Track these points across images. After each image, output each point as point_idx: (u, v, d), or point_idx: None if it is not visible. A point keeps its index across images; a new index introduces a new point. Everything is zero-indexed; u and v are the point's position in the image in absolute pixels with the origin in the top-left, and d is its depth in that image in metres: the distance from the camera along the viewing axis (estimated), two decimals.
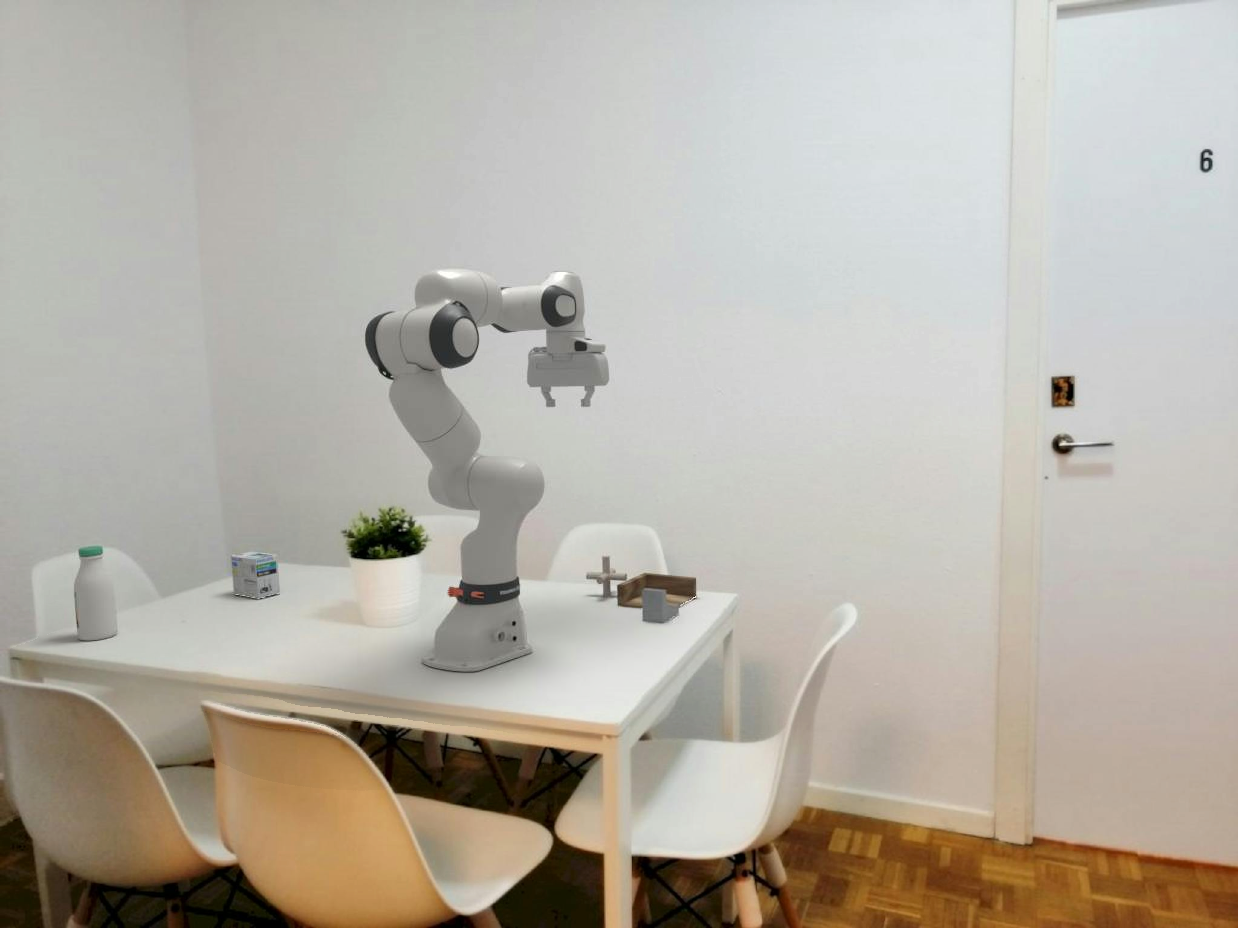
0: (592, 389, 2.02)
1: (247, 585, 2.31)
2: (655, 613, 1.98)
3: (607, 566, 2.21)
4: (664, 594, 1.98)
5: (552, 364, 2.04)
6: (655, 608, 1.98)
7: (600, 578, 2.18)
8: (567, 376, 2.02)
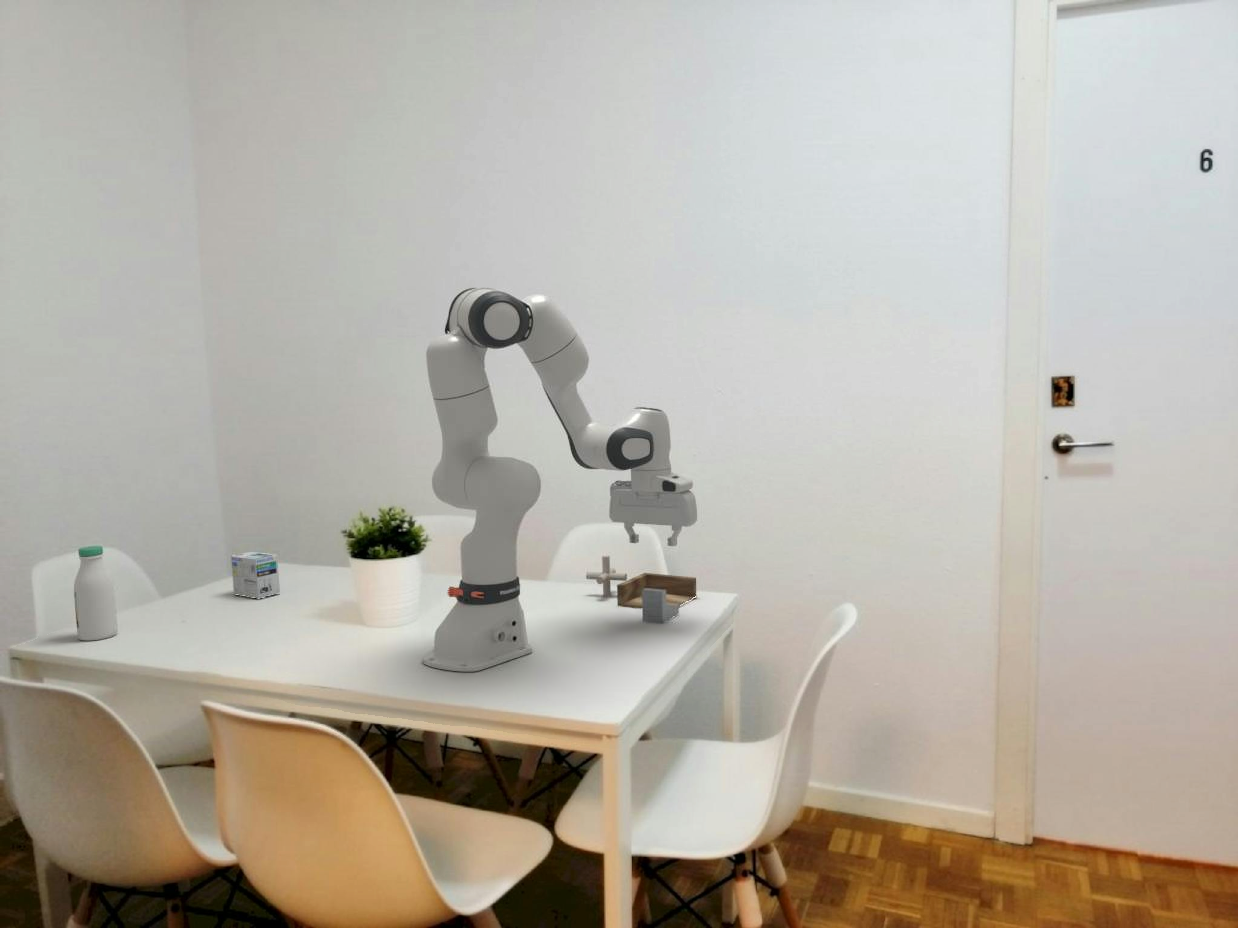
0: (680, 528, 1.95)
1: (247, 585, 2.31)
2: (655, 613, 1.98)
3: (607, 566, 2.21)
4: (664, 594, 1.98)
5: (636, 500, 1.97)
6: (655, 608, 1.98)
7: (600, 578, 2.18)
8: (653, 514, 1.95)
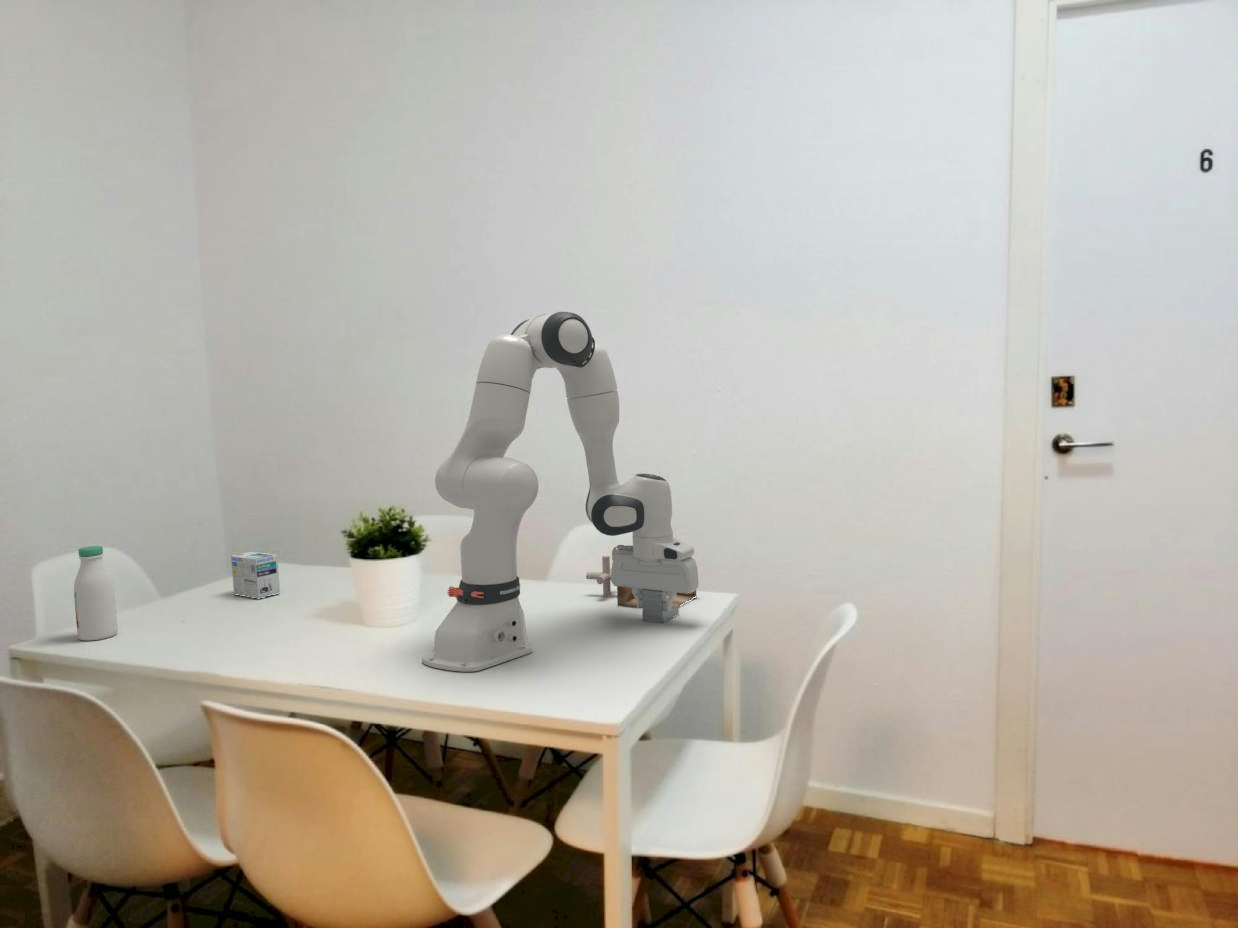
0: (675, 593, 1.97)
1: (247, 585, 2.31)
2: (655, 613, 1.98)
3: (607, 566, 2.21)
4: (664, 594, 1.98)
5: (638, 565, 1.99)
6: (655, 608, 1.98)
7: (600, 578, 2.18)
8: (655, 580, 1.97)
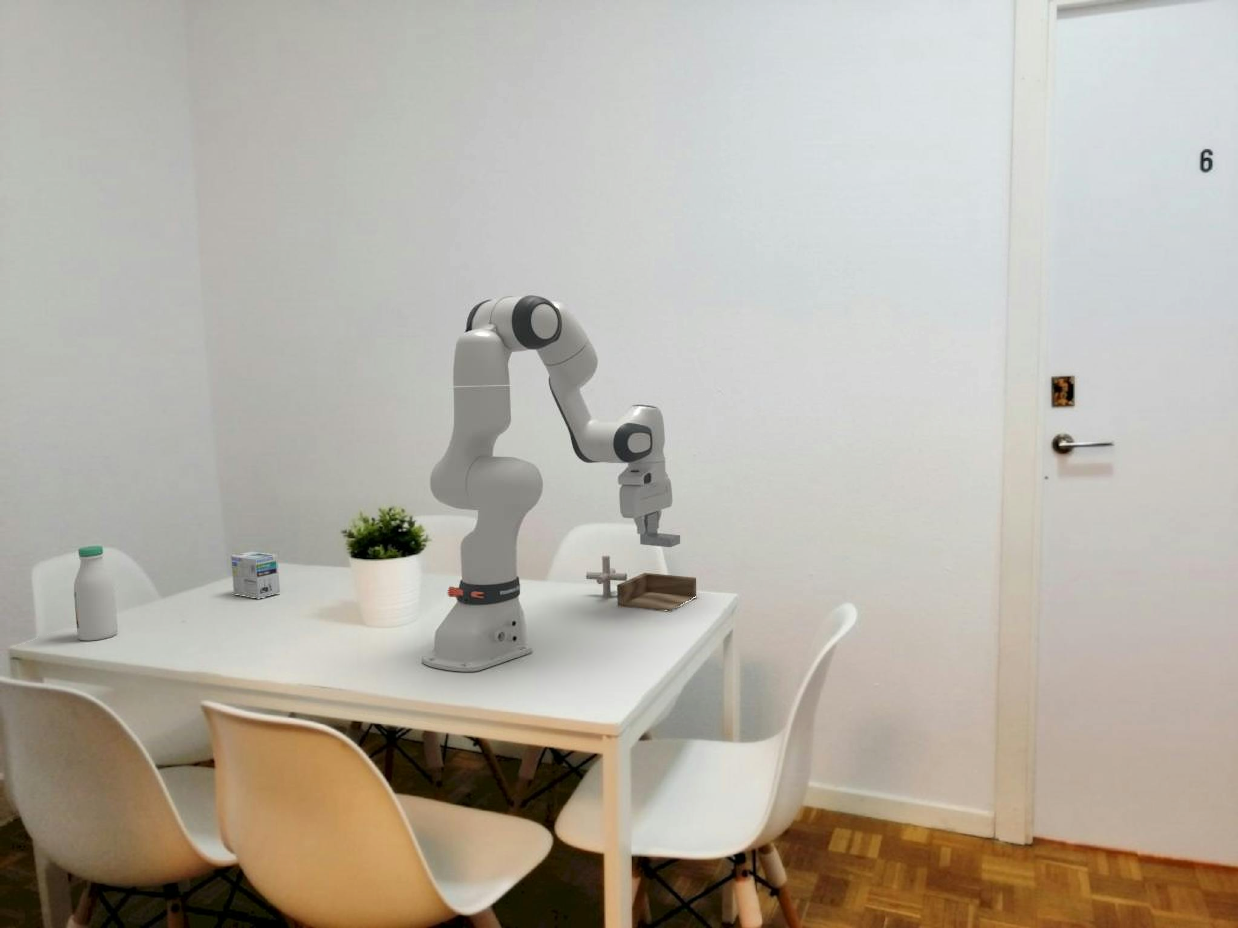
0: (638, 518, 2.09)
1: (247, 585, 2.31)
2: None
3: (607, 566, 2.21)
4: None
5: None
6: None
7: (600, 578, 2.18)
8: None
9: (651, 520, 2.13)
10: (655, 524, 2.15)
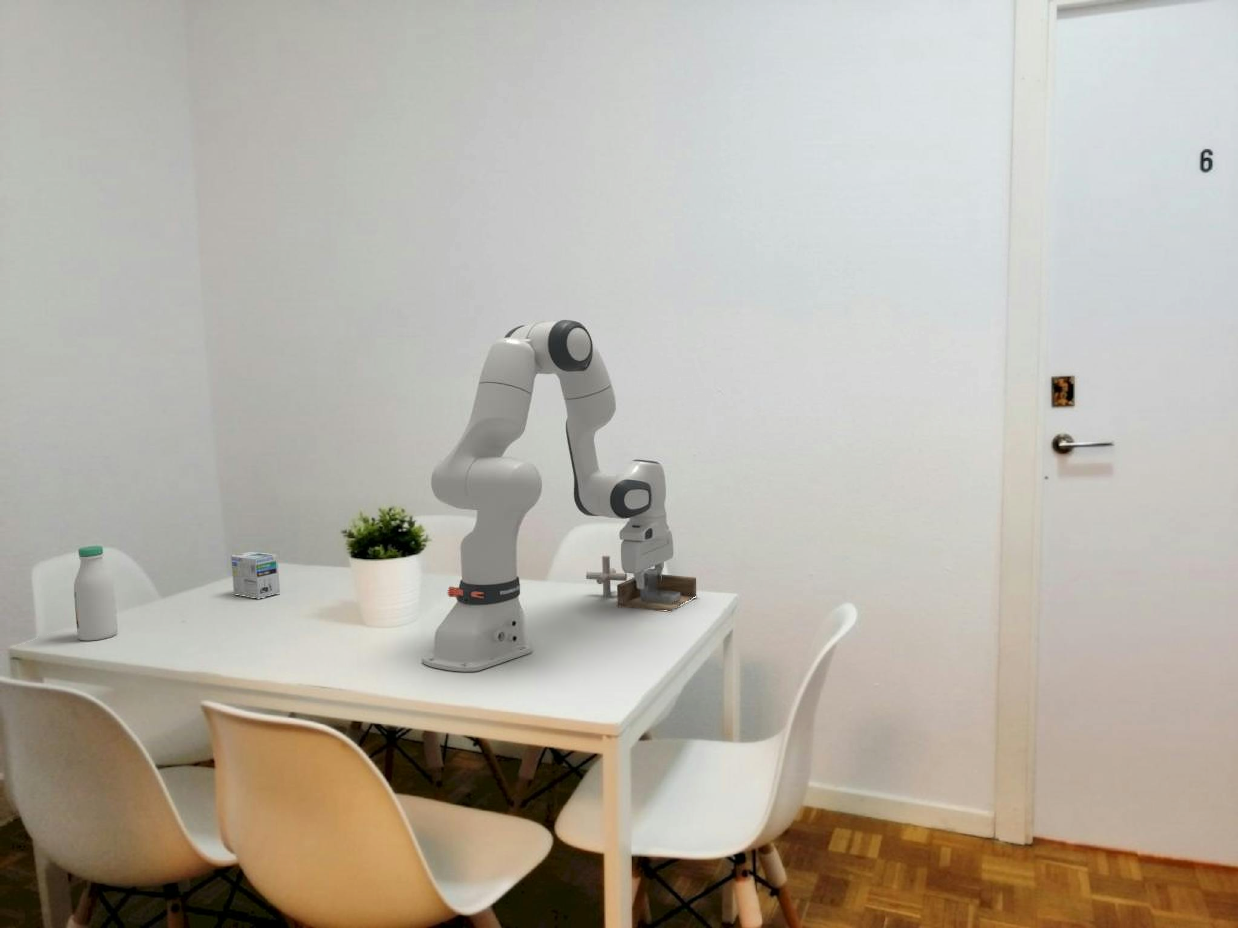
0: (638, 573, 2.10)
1: (247, 585, 2.31)
2: None
3: (607, 566, 2.21)
4: (644, 576, 2.13)
5: None
6: None
7: (600, 578, 2.18)
8: None
9: (651, 578, 2.14)
10: (655, 581, 2.16)
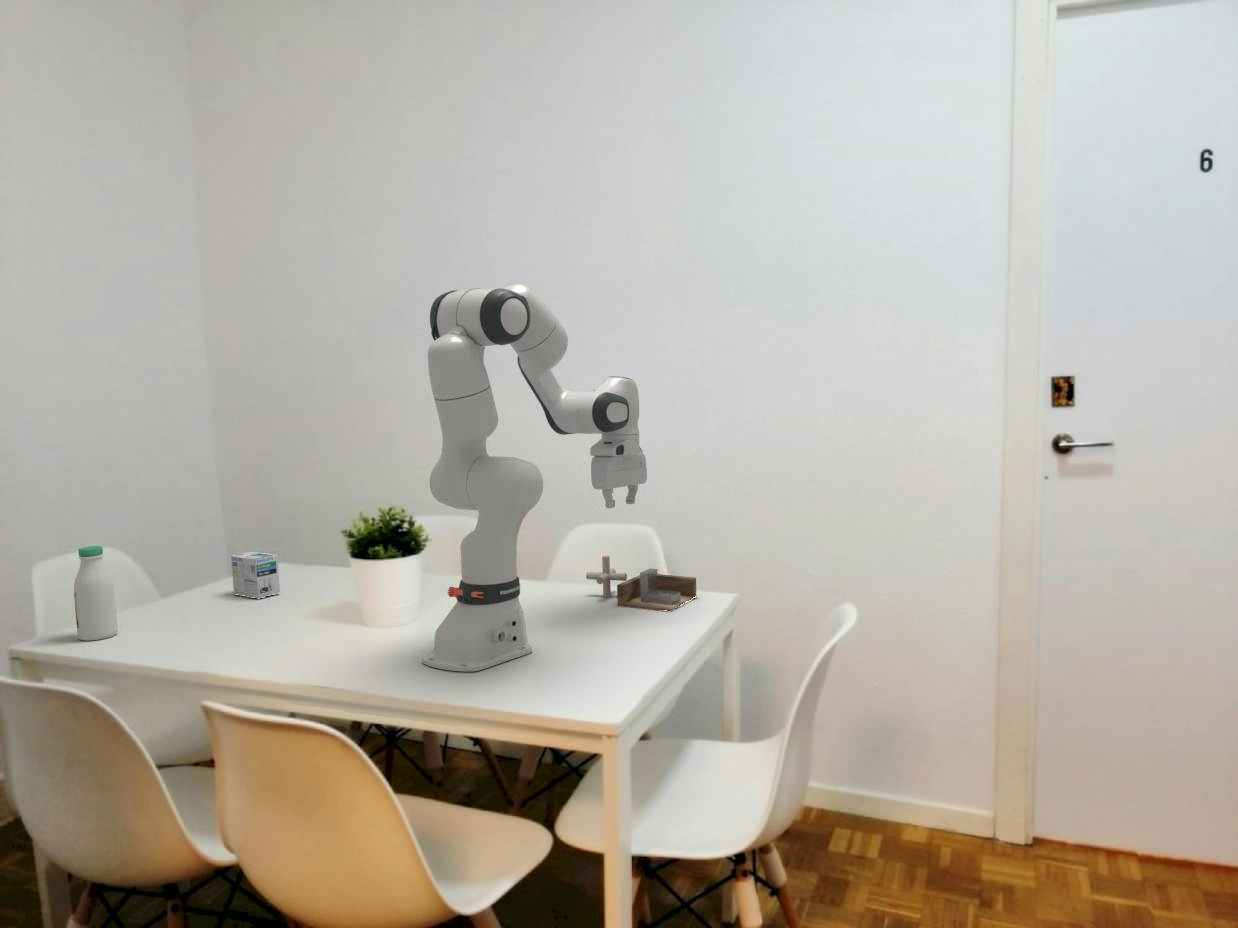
0: (607, 491, 2.05)
1: (247, 585, 2.31)
2: None
3: (607, 566, 2.21)
4: (644, 576, 2.13)
5: None
6: None
7: (600, 578, 2.18)
8: None
9: (651, 578, 2.14)
10: (655, 581, 2.16)
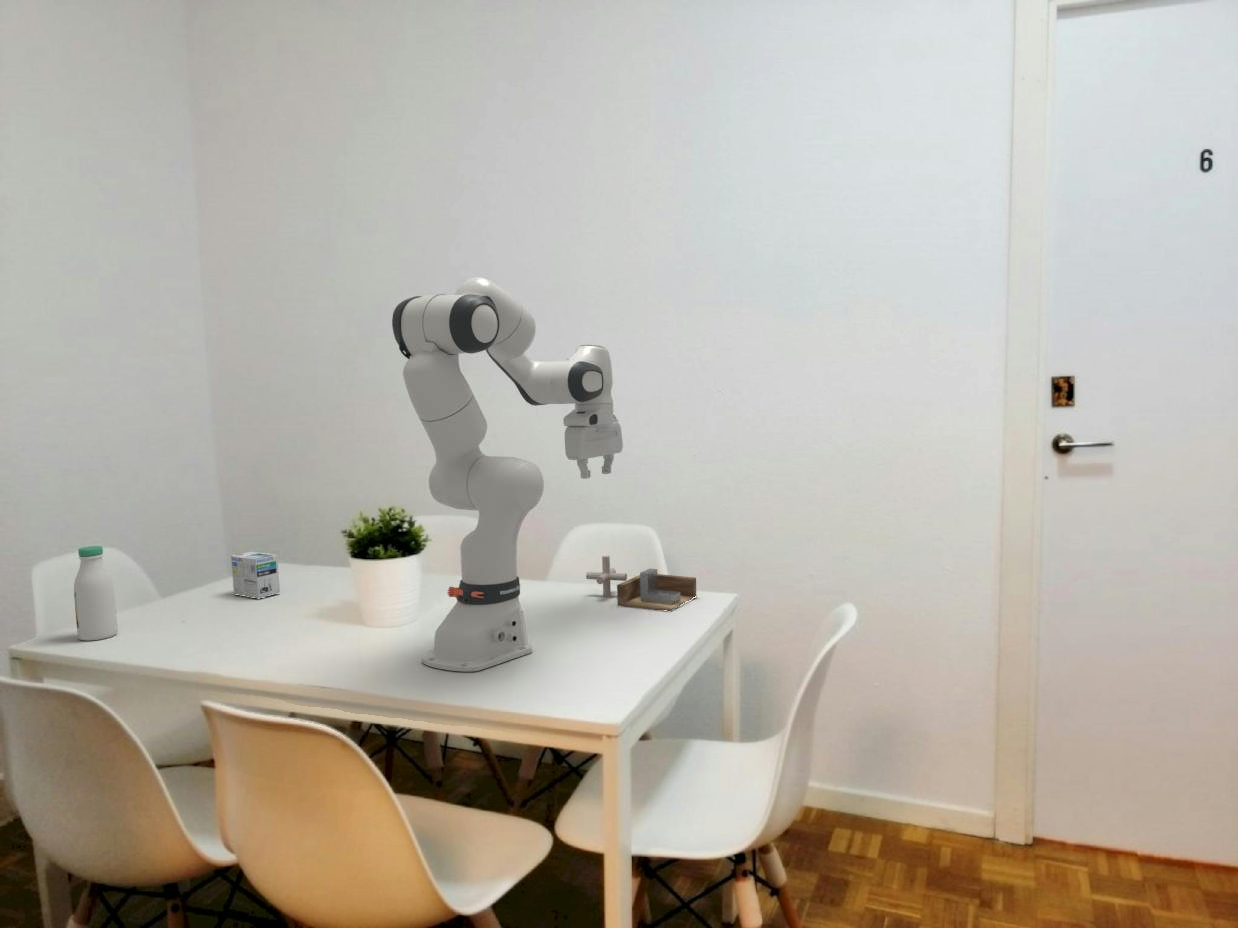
0: (582, 462, 2.03)
1: (247, 585, 2.31)
2: None
3: (607, 566, 2.21)
4: (644, 576, 2.13)
5: None
6: None
7: (600, 578, 2.18)
8: None
9: (651, 578, 2.14)
10: (655, 581, 2.16)
